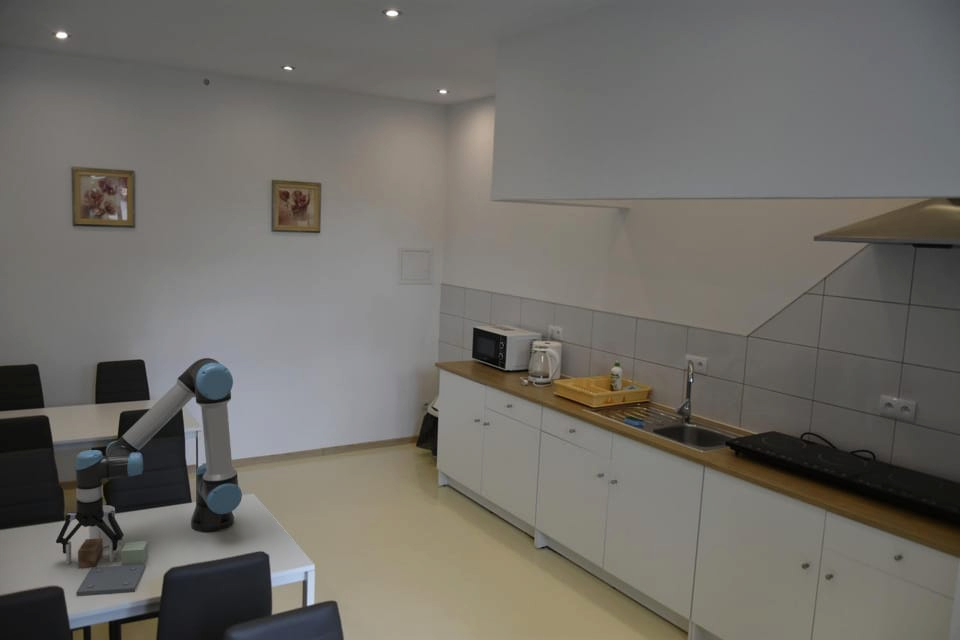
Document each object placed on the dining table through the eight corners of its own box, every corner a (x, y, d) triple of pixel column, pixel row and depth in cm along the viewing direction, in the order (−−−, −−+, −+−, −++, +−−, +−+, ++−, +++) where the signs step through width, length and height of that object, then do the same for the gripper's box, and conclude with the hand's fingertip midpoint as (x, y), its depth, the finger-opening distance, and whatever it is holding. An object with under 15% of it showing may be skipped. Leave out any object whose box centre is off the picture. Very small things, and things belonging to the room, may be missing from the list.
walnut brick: (102, 555, 240) (102, 538, 239) (95, 567, 231) (95, 550, 230) (86, 556, 238) (86, 539, 238) (78, 568, 230) (77, 551, 229)
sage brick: (147, 558, 239) (147, 541, 238) (143, 567, 233) (143, 549, 232) (126, 559, 238) (126, 542, 237) (121, 568, 231) (121, 550, 231)
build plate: (145, 567, 232) (145, 563, 232) (134, 591, 217) (134, 587, 217) (91, 570, 228) (91, 566, 228) (76, 595, 213) (76, 591, 213)
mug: (111, 551, 243) (111, 517, 241) (83, 553, 240) (82, 519, 239) (118, 536, 254) (117, 504, 253) (91, 538, 251) (90, 505, 250)
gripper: (133, 492, 239) (133, 553, 241) (51, 495, 233) (53, 558, 235) (127, 500, 231) (128, 563, 234) (43, 504, 225) (45, 568, 228)
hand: (90, 561), depth 235 cm, fingers open, 12 cm apart
